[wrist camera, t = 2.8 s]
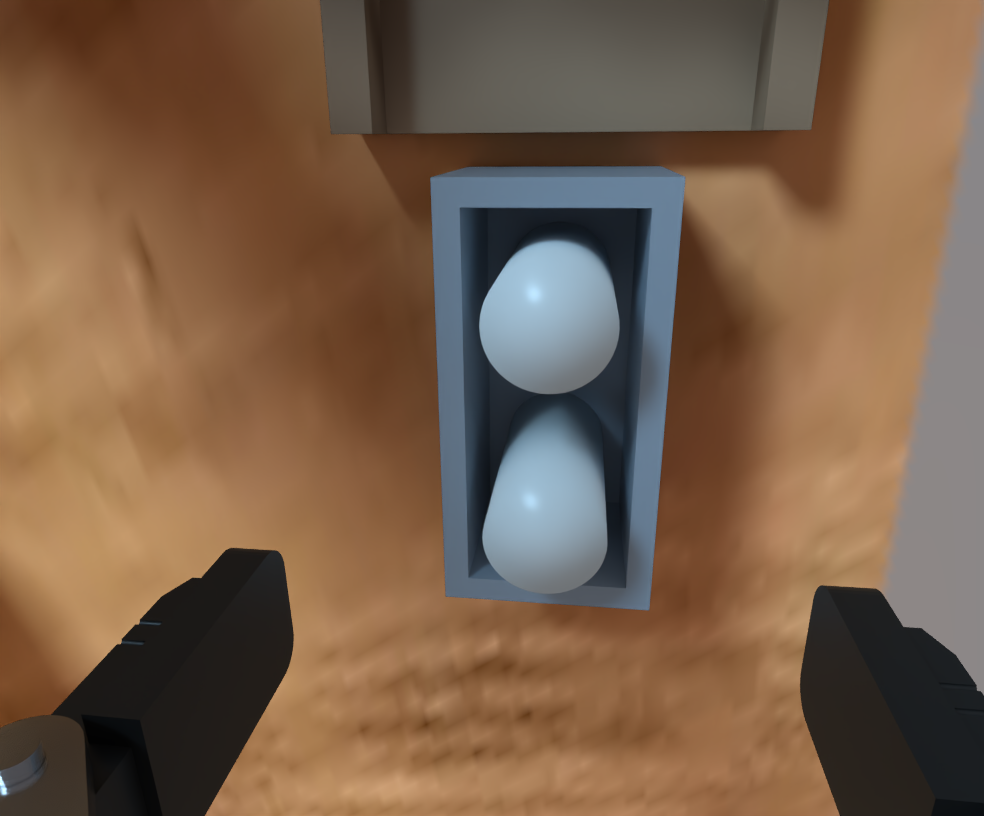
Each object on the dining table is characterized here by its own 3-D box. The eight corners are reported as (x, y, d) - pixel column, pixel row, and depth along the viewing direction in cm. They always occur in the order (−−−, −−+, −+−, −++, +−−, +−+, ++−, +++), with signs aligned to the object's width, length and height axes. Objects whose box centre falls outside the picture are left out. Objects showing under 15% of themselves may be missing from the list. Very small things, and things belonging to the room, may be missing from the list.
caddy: (636, 510, 26) (654, 651, 19) (474, 501, 27) (433, 635, 20) (660, 166, 22) (696, 182, 15) (468, 167, 23) (413, 182, 16)
